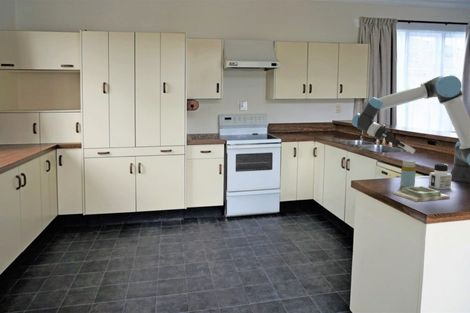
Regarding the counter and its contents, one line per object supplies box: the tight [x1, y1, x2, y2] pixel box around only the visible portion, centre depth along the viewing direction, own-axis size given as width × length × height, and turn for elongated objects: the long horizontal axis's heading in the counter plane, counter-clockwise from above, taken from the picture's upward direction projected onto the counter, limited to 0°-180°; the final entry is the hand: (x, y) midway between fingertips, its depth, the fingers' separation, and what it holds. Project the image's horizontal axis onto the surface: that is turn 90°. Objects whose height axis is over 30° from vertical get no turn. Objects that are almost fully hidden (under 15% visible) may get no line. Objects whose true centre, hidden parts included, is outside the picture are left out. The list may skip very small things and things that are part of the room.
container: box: [428, 162, 452, 190], centre depth 205 cm, size 8×8×13 cm
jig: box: [392, 185, 451, 203], centre depth 187 cm, size 20×16×3 cm
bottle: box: [399, 159, 417, 189], centre depth 203 cm, size 7×7×15 cm
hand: (412, 150), depth 202 cm, fingers open, 13 cm apart
